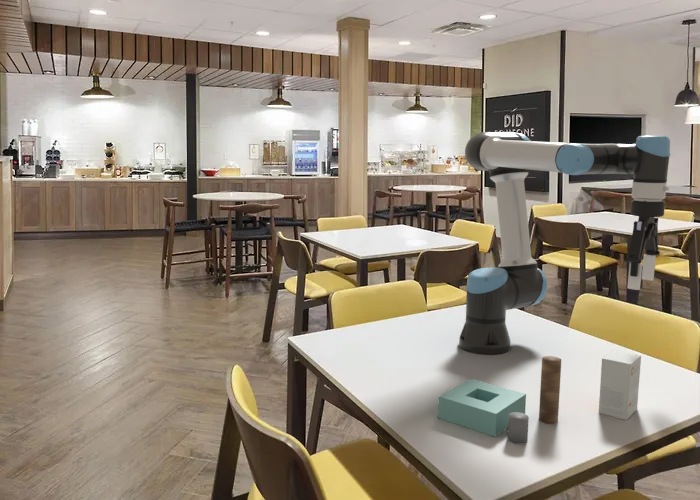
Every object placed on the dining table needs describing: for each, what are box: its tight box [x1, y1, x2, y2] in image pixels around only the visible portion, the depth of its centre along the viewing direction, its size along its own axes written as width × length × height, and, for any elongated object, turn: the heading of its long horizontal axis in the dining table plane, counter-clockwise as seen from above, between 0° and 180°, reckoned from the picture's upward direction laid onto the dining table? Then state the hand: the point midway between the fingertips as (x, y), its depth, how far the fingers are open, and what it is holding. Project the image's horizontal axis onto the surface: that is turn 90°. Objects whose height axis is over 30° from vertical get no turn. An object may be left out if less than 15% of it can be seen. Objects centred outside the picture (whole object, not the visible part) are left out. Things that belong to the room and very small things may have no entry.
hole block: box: [437, 378, 527, 437], centre depth 139 cm, size 14×14×5 cm
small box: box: [598, 349, 642, 421], centre depth 141 cm, size 8×6×13 cm
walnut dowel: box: [538, 355, 562, 425], centre depth 136 cm, size 4×4×14 cm
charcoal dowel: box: [507, 412, 530, 445], centre depth 128 cm, size 4×4×5 cm
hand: (640, 284), depth 156 cm, fingers open, 13 cm apart
